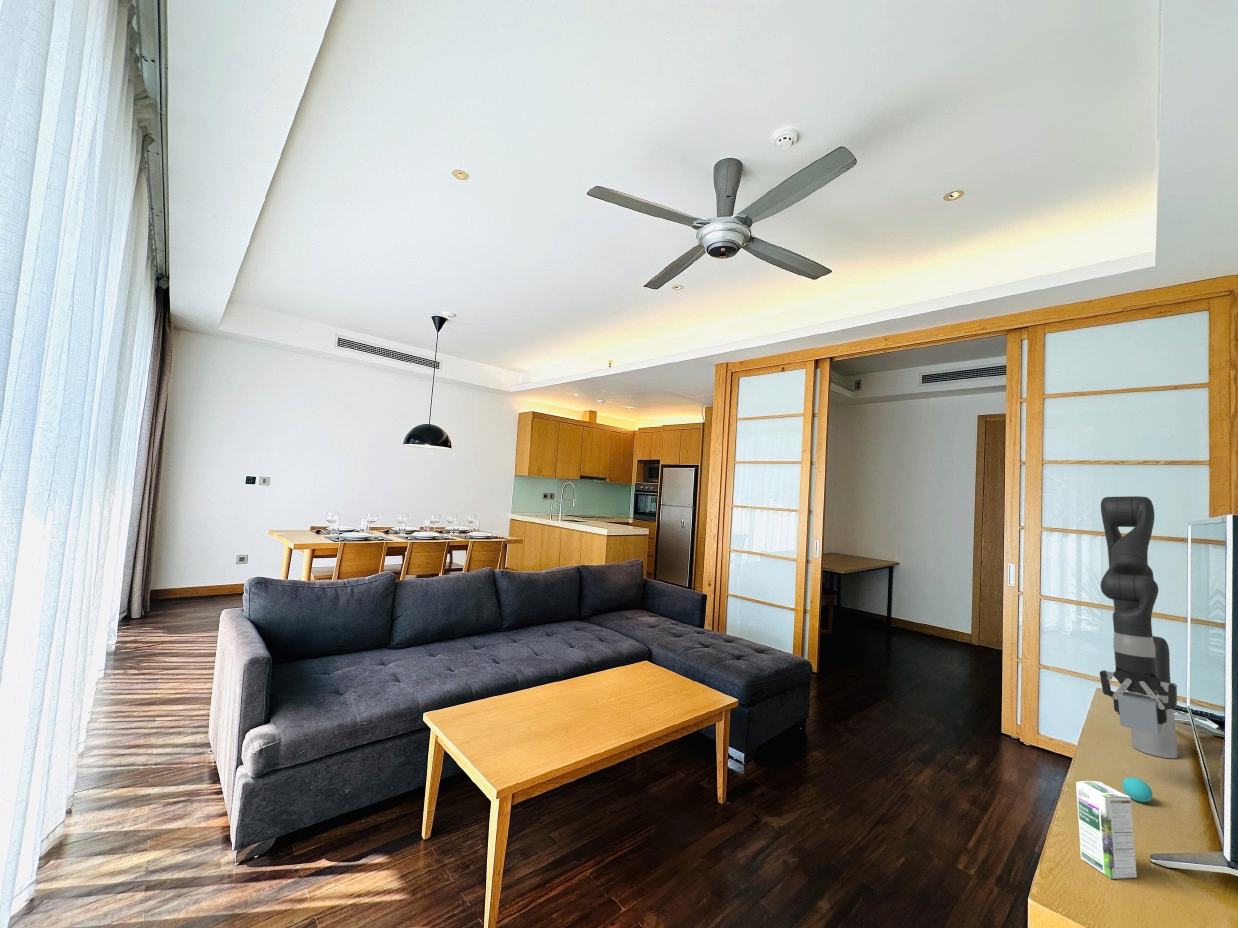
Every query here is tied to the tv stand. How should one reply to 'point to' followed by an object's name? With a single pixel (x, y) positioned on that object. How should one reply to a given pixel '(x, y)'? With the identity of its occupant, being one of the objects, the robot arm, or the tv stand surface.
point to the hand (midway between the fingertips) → (1140, 718)
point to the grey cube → (1139, 712)
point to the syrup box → (1106, 829)
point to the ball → (1137, 789)
